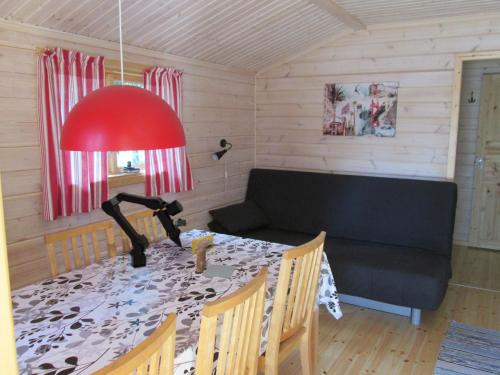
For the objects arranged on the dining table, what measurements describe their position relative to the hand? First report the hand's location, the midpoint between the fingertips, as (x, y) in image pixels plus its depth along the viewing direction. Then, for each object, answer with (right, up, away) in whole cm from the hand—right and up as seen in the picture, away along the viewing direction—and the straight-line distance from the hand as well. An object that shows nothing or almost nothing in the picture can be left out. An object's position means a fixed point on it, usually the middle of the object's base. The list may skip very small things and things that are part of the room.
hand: (181, 247), depth 217 cm
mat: (+19, -12, -1) cm, 23 cm away
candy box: (+7, -7, +31) cm, 33 cm away
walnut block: (+10, -11, 0) cm, 15 cm away
